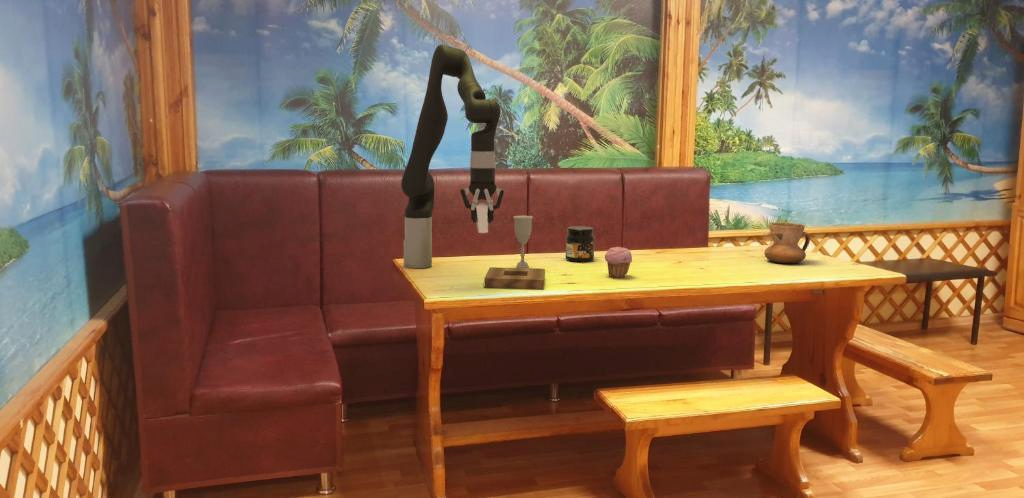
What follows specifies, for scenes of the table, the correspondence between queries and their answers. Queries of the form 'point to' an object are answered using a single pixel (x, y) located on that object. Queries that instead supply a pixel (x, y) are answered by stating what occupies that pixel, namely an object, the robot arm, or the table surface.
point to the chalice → (523, 235)
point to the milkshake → (482, 217)
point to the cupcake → (618, 261)
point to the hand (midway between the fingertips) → (482, 222)
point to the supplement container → (580, 244)
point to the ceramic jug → (786, 242)
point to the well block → (515, 278)
